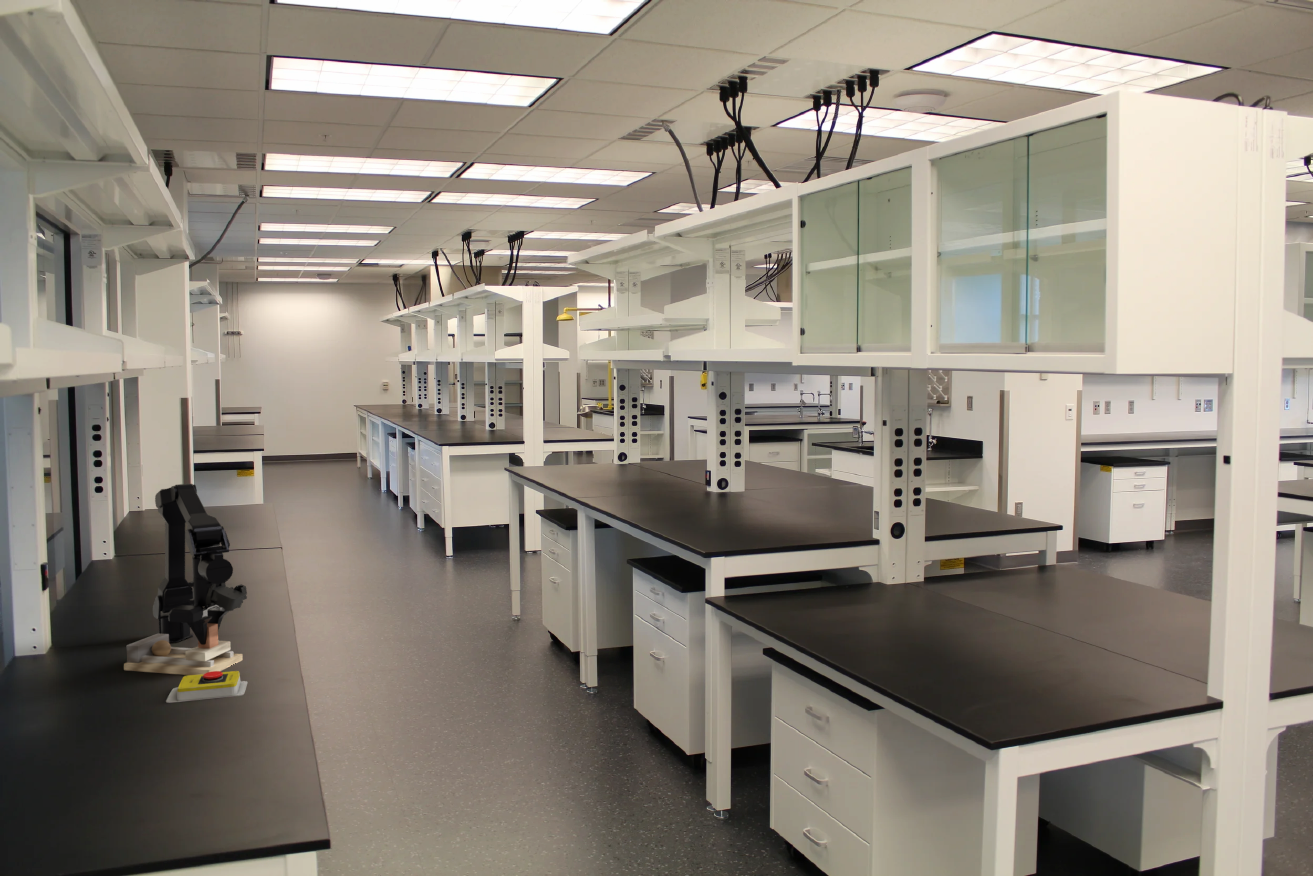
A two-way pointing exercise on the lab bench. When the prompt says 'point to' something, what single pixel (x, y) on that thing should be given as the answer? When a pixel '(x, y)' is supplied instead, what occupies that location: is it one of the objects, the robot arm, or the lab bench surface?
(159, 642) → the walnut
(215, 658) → the press bed
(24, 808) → the lab bench surface
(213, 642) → the slider
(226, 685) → the emergency button
